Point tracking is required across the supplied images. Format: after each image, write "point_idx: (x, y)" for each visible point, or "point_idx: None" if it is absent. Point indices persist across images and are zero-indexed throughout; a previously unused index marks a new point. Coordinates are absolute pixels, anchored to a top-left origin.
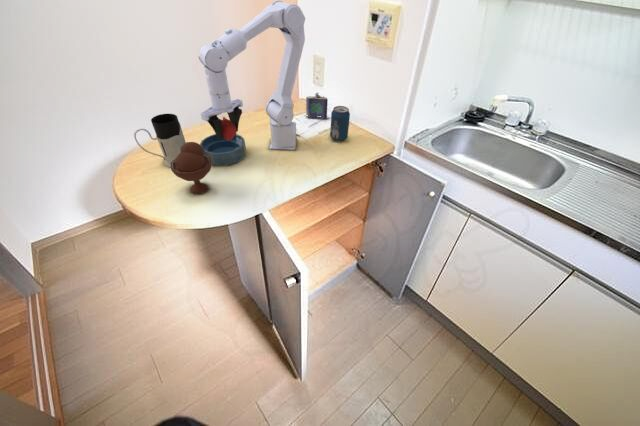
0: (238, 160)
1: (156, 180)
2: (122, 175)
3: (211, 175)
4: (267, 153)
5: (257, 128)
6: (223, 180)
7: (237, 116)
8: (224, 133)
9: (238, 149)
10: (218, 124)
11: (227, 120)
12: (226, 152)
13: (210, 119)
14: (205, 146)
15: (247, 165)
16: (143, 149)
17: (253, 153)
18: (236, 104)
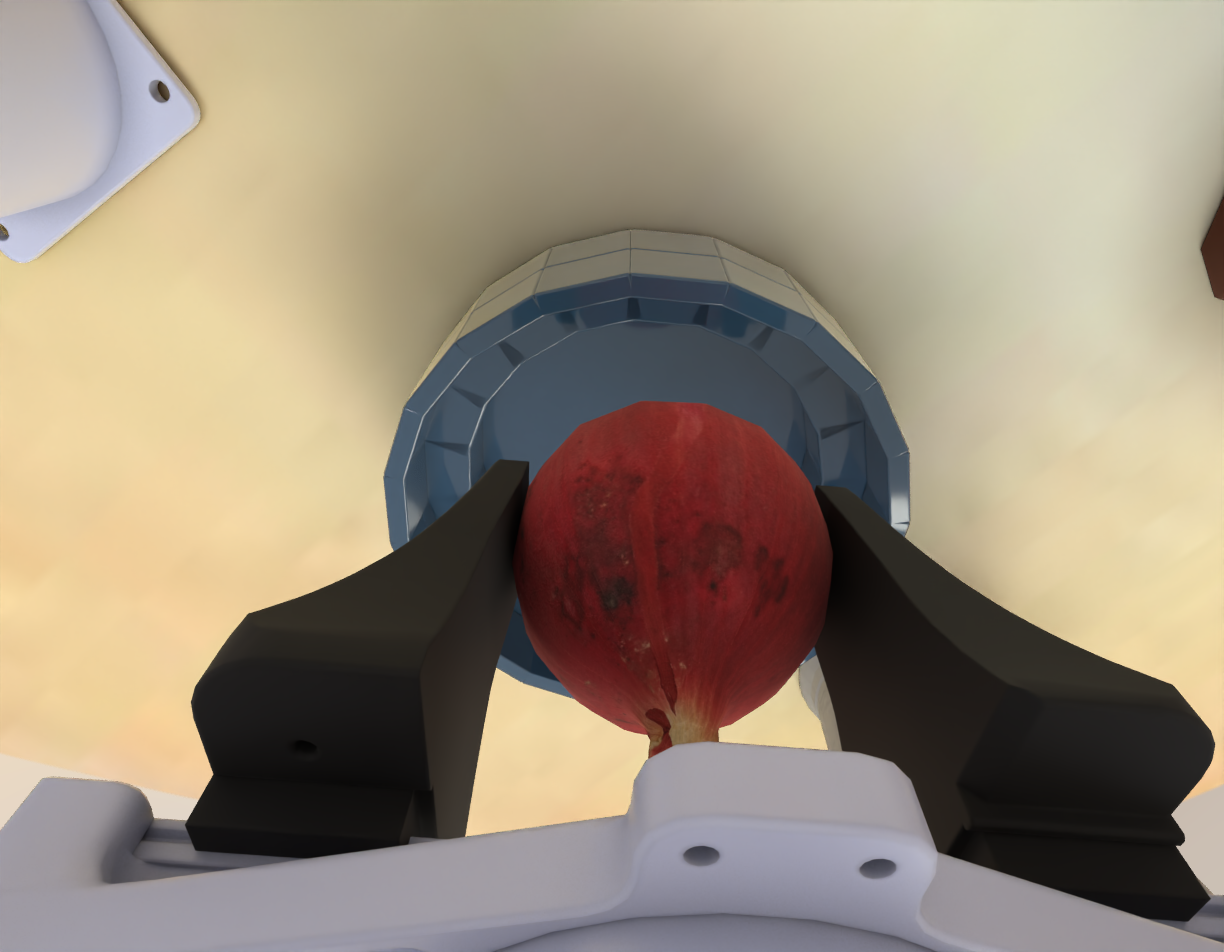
0: (685, 236)
1: (1220, 605)
2: (1201, 783)
3: (1021, 302)
4: (296, 68)
5: (55, 540)
6: (1077, 112)
7: (434, 602)
8: (817, 503)
9: (661, 273)
10: (1049, 652)
11: (670, 659)
12: (817, 343)
13: (1161, 856)
14: None
15: (672, 95)
16: (1203, 886)
17: (424, 230)
18: (245, 927)
